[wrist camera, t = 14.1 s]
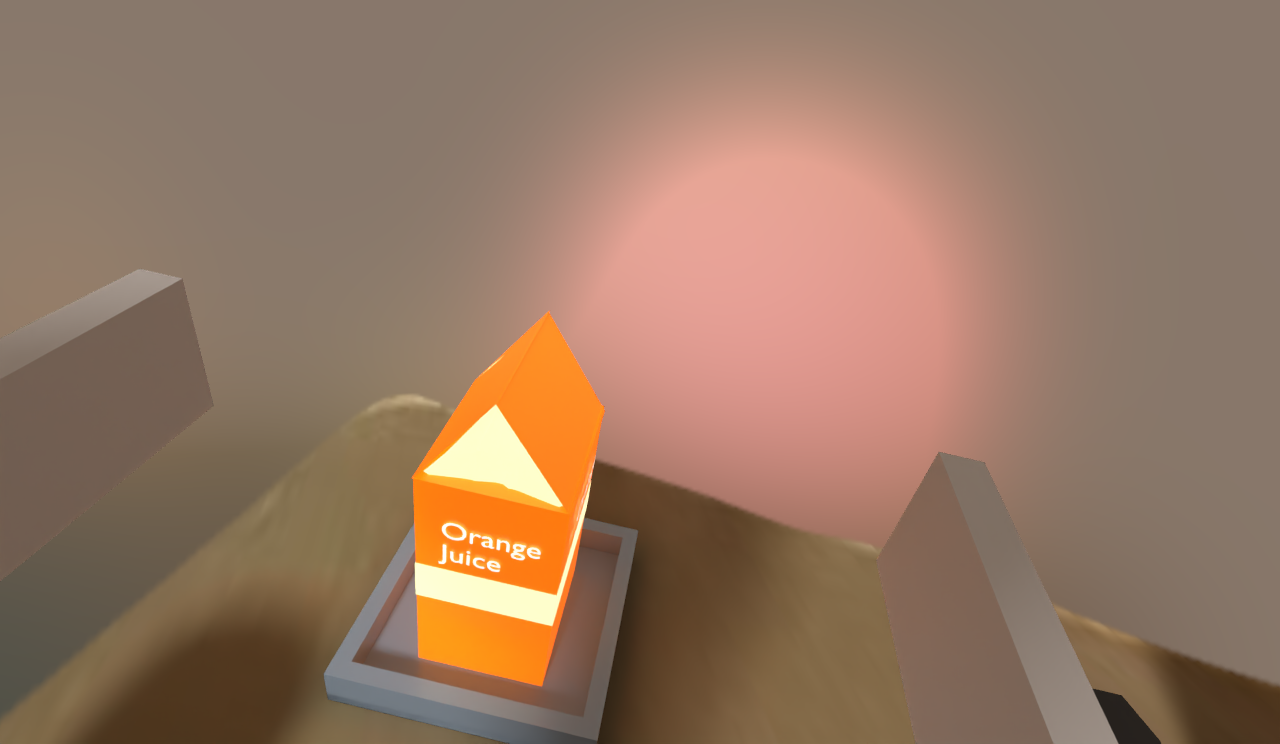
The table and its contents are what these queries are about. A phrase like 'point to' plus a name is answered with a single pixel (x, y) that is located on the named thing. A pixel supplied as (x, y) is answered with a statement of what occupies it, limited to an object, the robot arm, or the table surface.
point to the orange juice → (505, 510)
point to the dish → (479, 702)
